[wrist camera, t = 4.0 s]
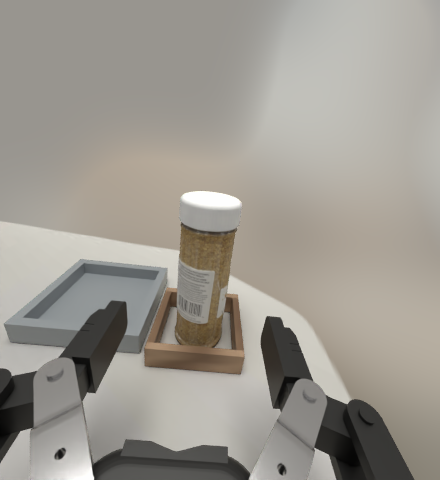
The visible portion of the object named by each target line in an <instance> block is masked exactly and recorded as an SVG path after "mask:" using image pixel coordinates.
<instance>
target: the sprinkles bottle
mask: <svg viewBox="0 0 440 480" xmlns="http://www.w3.org/2000/svg"><path fill="white" fill-rule="evenodd" d="M241 208H242V204H241V202H240V201H239V200H238V199H237V198H235V197H233V196H230V195H226V194H221V193H216V192H205V191H197V192H189V193H185V194H184V195H183V196H182V197H181V199H180V215H179V218H180V221H181V242H180V254H179V265H178V286H177V324H176V327H175V335H176V338H177V340H178V341H179V343H181V344H182V345H186V346H197V347H208V348H211V347H213V346H214V345H215V344H216V343H217V342H218V341H219V339H220V337H221V333H222V328H221V324H222V318H223V312H224V309H225V303H226V296H227V289H228V281H229V274H230V263H231V257H232V251H233V244H234V237H235V232H236V231H237V227H238V226H239V223H240V217H241Z"/></svg>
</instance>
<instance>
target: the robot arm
mask: <svg viewBox="0 0 440 480" xmlns="http://www.w3.org/2000/svg"><path fill="white" fill-rule="evenodd" d="M127 325H128V319H127V304H126V302H125V301H115V300H111V301H110V302H109V304H108V305H107V307H106V308H105V309H98V310H97V311H96V312H94V313H93V314H92V315H90V317H89V318H88V319H87V321H86V322H85V324H84V325H83V326H82V327H81V329H80V331H78V333H77V334H76V335H75V337H74V338H73V339H72V341H71V342H70V343H69V345H68V346H67V347H66V349H65V350H64V351H63V353H62V354H61V355H60V357H59V358H57V359H54V360H52V361H50V362H48V363H46V364H45V365H43V366H42V367H41V368H40V369H39V370H38V371H35V372H31V373H25V374H20V375H15V376H12V375H11V373H10V371H9V370H7V369H2V368H1V369H0V462H1V461H2V459H3V458H4V456H5V455H6V453H7V451H8V450H9V448H10V447H11V445H12V444H13V442H14V440H15V439H16V437H17V436H18V434H19V433H20V431H23V430H26V429H30V428H32V429H31V432H30V480H307V477H308V474H309V471H310V467H311V464H312V460H313V457H314V452H315V450H314V448H316V449H318V450H320V451H323V452H325V453H327V454H329V456H330V459H331V463H332V466H333V470H334V473H335V476H336V480H414V478H413V476H412V474H411V473H410V471H409V469H408V467H407V465H406V463H405V461H404V459H403V458H402V455H401V454H400V452H399V450H398V448H397V446H396V444H395V442H394V440H393V438H392V437H391V435H390V433H389V431H388V429H387V427H386V425H385V424H384V422H383V419H382V418H381V416H380V415H379V414H378V412H377V411H376V410H375V409H374V408H373V407H371V406H370V405H369V404H367V403H366V402H364V401H361V400H356V399H354V400H351V401H350V402H349V403H348V405H347V404H345V403H342V402H340V401H337V400H335V399H332V398H330V397H328V396H327V395H325V393H324V391H323V390H322V389H321V387H320V386H319V385H317V384H316V383H315V382H313V379H312V377H311V374H310V372H309V369H308V366H307V364H306V361H305V358H304V356H303V353H302V351H301V348H300V346H299V343H298V340H297V337H296V335H295V334H294V333H293V332H292V330H291V329H290V328H285V327H284V325H283V322H282V320H281V318H280V317H270V316H267V317H266V320H265V324H264V328H263V331H262V335H261V349H262V354H263V359H264V364H265V369H266V375H267V380H268V385H269V390H270V396H271V401H272V406H273V408H274V409H280V411H281V414H280V416H279V418H278V420H277V421H276V423H275V425H274V427H273V429H272V432H271V434H270V436H269V438H268V440H267V442H266V444H265V446H264V448H263V450H262V452H261V455H260V457H259V459H258V461H257V463H256V465H255V467H254V469H253V471H252V473H251V474H250V473H249V472H248V470H247V469H246V468H245V467H244V466H243V465H242V464H240V463H239V462H238V461H236V460H235V459H233V458H232V457H229V456H228V447H223V446H209V445H201V446H197V447H193V448H190V449H186V450H182V451H177V452H176V451H172V450H170V449H168V448H165V447H163V446H161V445H159V444H156V443H154V442H152V441H141V440H127V439H126V440H125V443H124V446H123V449H119V450H116V451H114V452H112V453H110V454H108V455H106V456H104V457H103V458H101V459H100V460H98V461H97V462H96V463H95V464H94V462H93V456H92V451H91V446H90V441H89V435H88V430H87V424H86V419H85V413H84V408H83V402H82V401H83V399H84V398H85V396H86V394H87V392H88V393H96V391H97V389H98V387H99V385H100V383H101V381H102V379H103V377H104V375H105V373H106V371H107V369H108V367H109V365H110V363H111V361H112V359H113V357H114V355H115V353H116V351H117V349H118V347H119V345H120V343H121V341H122V339H123V337H124V335H125V333H126V330H127Z"/></svg>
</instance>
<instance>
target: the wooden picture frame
mask: <svg viewBox="0 0 440 480" xmlns="http://www.w3.org/2000/svg"><path fill="white" fill-rule="evenodd" d="M171 306H173V307H177V289H176V288H167V289H166V291H165V294H164V297H163V299H162V302H161V305H160V308H159V310H158V313H157V316H156V318H155V321H154V324H153V327H152V329H151V332H150V335H149V337H148V340H147V343H146V345H145V348H144V353H145V366H150V367H162V368H174V369H185V370H197V371H209V372H221V373H233V374H241V370H242V366H243V361H244V348H243V339H242V330H241V321H240V311H239V302H238V295H236V294H227V296H226V303H225V309H224V312H230V321H231V340H232V350H231V349H220V348H208V347H197V346H186V345H175V344H164V343H160V340H161V337H162V333H163V330H164V327H165V324H166V320H167V317H168V314H169V310H170V307H171Z"/></svg>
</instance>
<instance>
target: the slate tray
mask: <svg viewBox="0 0 440 480" xmlns="http://www.w3.org/2000/svg"><path fill="white" fill-rule="evenodd" d="M166 283H167V268H161V267H151V266H141V265H132V264H122V263H113V262H103V261H93V260H84V259H80V260H79V261H78V262H77V263H76V264H74V265H73V266H72V267H71V268H70V269H69V270H67V271H66V272H65V273H64V274H63V275H61V276H60V277H59V278H58V279H57V280H55V281H54V282H53V283H52V284H51V285H49V286H48V287H47V288H46V289H45V290H43V291H42V292H41V293H40V294H39V295H38V296H36V297H35V298H34V299H33V300H32V301H30V302H29V303H28V304H27V305H26V306H24V307H23V308H22V309H21V310H20V311H18V312H17V313H16V314H15V315H14V316H13V317H11V318H10V319H9V320H8V321H7V322H5V323H4V326H5V329H6V331H7V334H8V337H9V340H10V342H15V343H26V344H38V345H49V346H61V347H67V346H68V345H69V343H70V342H71V341H72V339H73V338H74V337H75V335H76V334H77V333H78V331H80V329H81V327H82V326H83V325H84V324H85V322H86V321H87V319H88V318H89V317H90V315H92V314H93V313H94V312H96V311H97V310H98V309H105V308H106V307H107V305H108V304H109V302H110V301H111V300H115V301H125V302H126V304H127V319H128V325H127V330H126V333H125V335H124V337H123V339H122V341H121V343H120V345H119V347H118V349H117V351H118V352H130V353H140V350H141V348H142V345H143V343H144V340H145V337H146V335H147V332H148V330H149V327H150V325H151V322H152V319H153V317H154V314H155V312H156V309H157V306H158V304H159V301H160V299H161V296H162V293H163V291H164V288H165V286H166Z"/></svg>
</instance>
